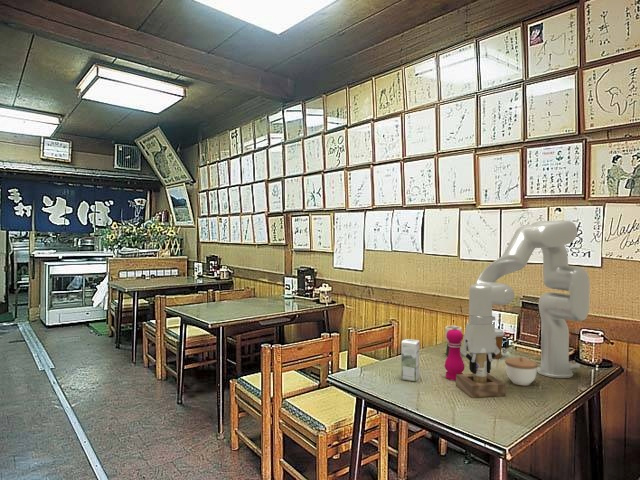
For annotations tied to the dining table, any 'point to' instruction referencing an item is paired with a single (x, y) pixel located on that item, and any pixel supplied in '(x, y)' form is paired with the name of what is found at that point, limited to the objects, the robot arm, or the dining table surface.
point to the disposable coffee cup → (499, 341)
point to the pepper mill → (454, 354)
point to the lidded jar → (521, 370)
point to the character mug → (446, 337)
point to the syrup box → (410, 360)
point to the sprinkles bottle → (481, 367)
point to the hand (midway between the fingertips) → (480, 371)
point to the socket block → (480, 386)
